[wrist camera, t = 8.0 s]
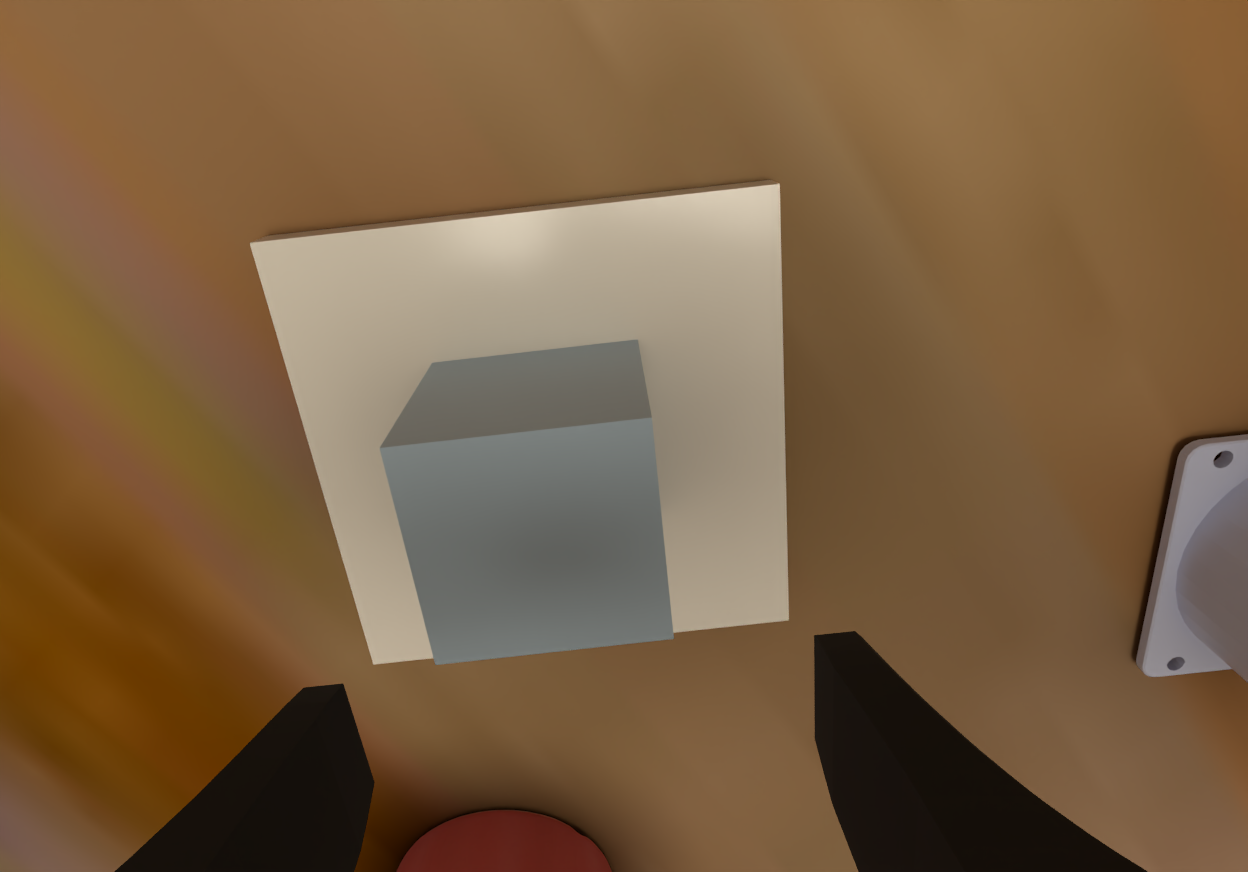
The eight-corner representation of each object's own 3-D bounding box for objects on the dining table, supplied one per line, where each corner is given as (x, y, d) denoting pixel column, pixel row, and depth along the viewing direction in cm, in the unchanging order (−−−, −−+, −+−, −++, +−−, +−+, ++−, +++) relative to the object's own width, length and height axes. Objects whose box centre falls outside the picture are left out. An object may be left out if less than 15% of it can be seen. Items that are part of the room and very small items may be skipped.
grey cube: (637, 339, 19) (652, 417, 14) (656, 518, 21) (674, 639, 16) (432, 362, 19) (379, 448, 14) (470, 539, 21) (435, 664, 16)
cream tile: (770, 179, 18) (779, 183, 17) (780, 599, 23) (788, 620, 22) (266, 235, 18) (249, 242, 17) (382, 641, 23) (373, 664, 22)
